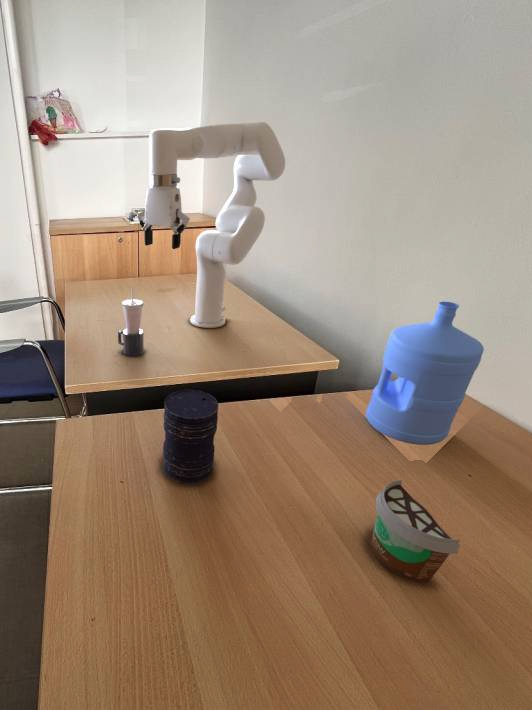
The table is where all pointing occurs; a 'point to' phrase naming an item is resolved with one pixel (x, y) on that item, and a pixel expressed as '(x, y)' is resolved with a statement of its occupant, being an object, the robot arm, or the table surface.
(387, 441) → the table surface
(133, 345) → the mug
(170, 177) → the robot arm
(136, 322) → the smoothie
